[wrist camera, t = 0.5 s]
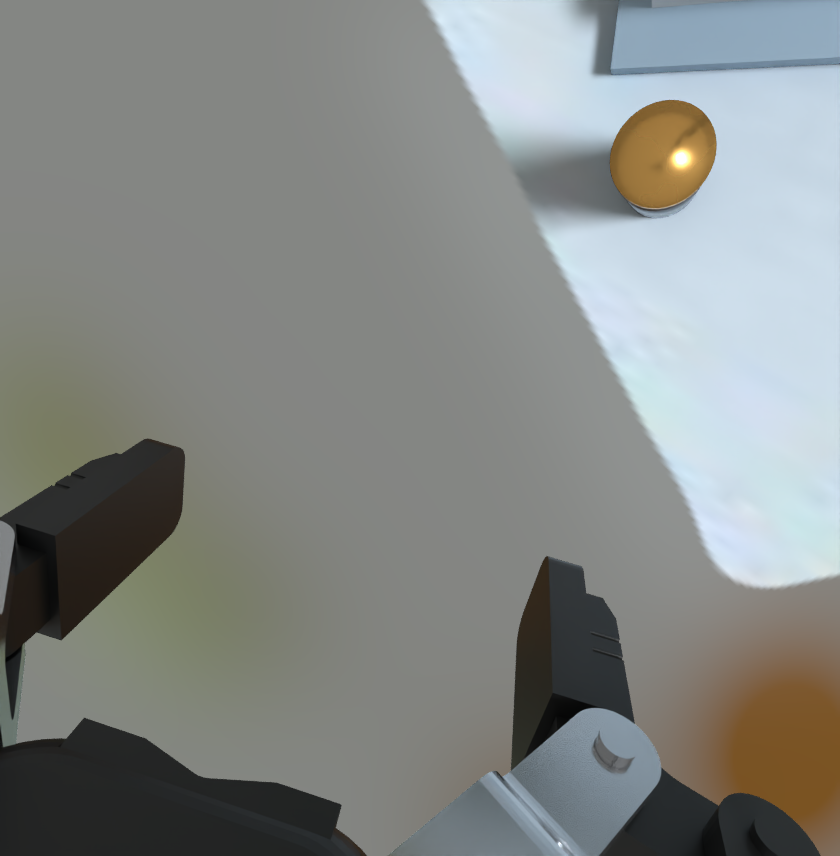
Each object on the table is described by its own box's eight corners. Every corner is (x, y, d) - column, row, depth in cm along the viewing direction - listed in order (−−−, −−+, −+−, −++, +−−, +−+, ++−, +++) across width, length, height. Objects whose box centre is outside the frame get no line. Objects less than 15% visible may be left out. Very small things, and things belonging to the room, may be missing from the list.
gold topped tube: (630, 142, 34) (617, 101, 24) (706, 142, 32) (726, 98, 22) (620, 216, 35) (603, 206, 25) (693, 219, 33) (705, 209, 24)
